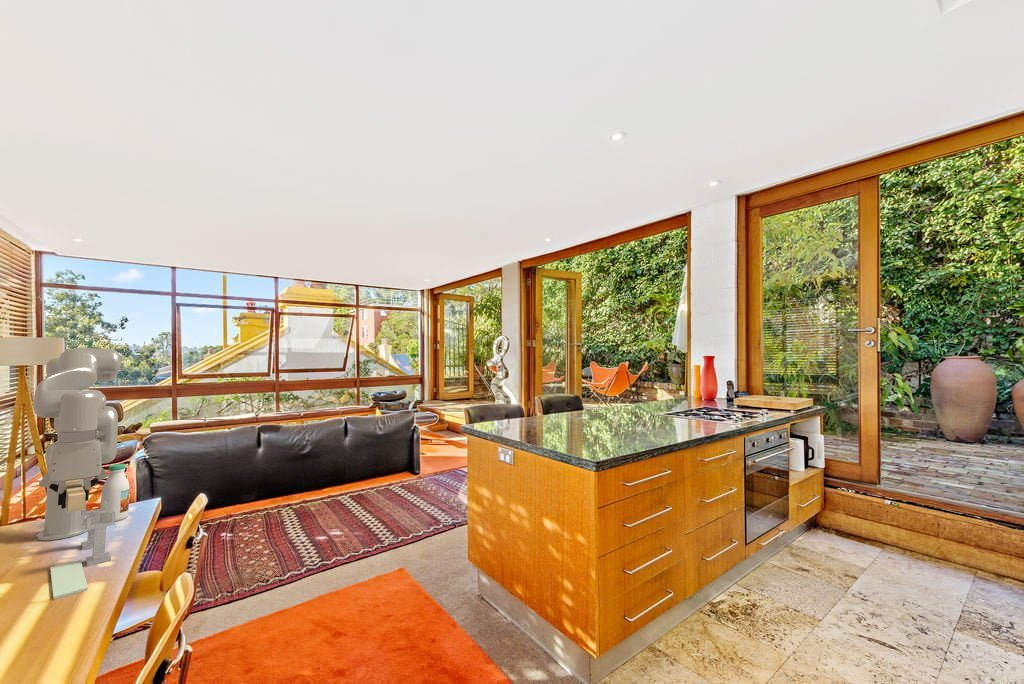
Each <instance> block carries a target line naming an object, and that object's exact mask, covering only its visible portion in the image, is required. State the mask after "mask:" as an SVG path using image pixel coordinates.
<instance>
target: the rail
mask: <svg viewBox="0 0 1024 684" xmlns="http://www.w3.org/2000/svg"><path fill="white" fill-rule="evenodd" d="M65 490H66V508H67V512H68V513H69V512H75V511H81V510H85V496H86V494H85V491H84V489H83V487H82V485H81V482H80V480H71V481H66V484H65Z"/></svg>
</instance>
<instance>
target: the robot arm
mask: <svg viewBox="0 0 1024 684" xmlns="http://www.w3.org/2000/svg"><path fill="white" fill-rule="evenodd" d="M121 366H122V358H121V355H120V353H119V352H118V351H117V350H115V349H114V348H101V347H100V348H99V347H98V348H97V347H96V348H95V347H93V348H92V347H74V348H70V349H66V350H64V351H63V352H62V353H61V354H60V355H59V357H55V358H51V359H49V360H48V361H47V363H46V365H45V372H46V376H47V377H46V378H44V379H43V380H41V381H40V382H39V383H38V384H37V386H36V388H35V391H34V398H33V404H32V405H33V411H34V414H35V415H36V416H37V417H39V418H42V419H50V418H52V419H54V420H53V429H54V432H55V433H56V434H57V441H54V442H53V443H51V444H49V445H48V447H46V450H45V461H46V462H45V463H46V471H47V472H46V473H45V475H44V476H43V477H42V479H41V480H40V481H39V483H38V486H39V487H43V488H46V500H45V511H44V512H45V513H44V524H43V525H44V528H43V530H41V531H40V532H39V533H38V534H36V540H39V541H55V540H61V539H67V538H71V537H75V536H79V535H81V534H84V533H87V532H88V530H86V516H84V517H82V516H81V511H75V512H69V513H68V512H67V508H66V490H65V484H66V481H71V480H80V482H81V485H82V487H83V489H84V491H85V494H86V496H85V504H86V503H87V502H88V501H89V496H90V489H91V488H92V487H93V486H95V485H96V484H97V483H99V482H100V481H102V480H104V479H106V478H108V476H109V473H107V472H106V470H105V469H104V467H103V465H102V464H104V465H105V464H108V463H111V462H113V461H114V459H116V457H117V451H118V434H119V433H118V432H119V431H118V430H119V415H118V411H117V410H116V408H115V407H113V406H108V405H107V397H106V395H105V394H104V393H103V392H102V391H100V390H98V389H90V388H91V387H92V386H94V385H95V384H96V383H97V382H98V383H99V382H100V383H101V382H103V383H105V382H106V383H107V382H112V381H114V380H115V379H116V378H117V376H118V374H119V372H120V370H121ZM86 505H87V504H86Z"/></svg>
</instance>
